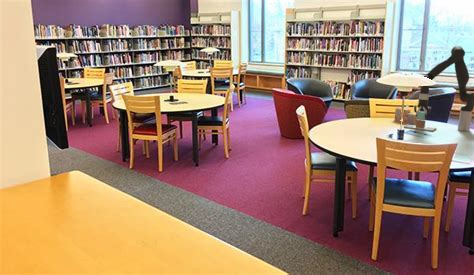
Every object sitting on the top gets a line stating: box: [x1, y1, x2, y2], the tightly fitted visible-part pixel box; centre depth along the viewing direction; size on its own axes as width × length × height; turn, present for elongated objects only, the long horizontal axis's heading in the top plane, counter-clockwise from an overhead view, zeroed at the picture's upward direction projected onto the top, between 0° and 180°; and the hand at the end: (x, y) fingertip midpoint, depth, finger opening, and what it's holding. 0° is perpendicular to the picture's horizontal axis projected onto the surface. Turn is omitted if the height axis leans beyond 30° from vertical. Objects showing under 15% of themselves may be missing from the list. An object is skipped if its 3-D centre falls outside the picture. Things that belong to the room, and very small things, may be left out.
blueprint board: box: [403, 123, 437, 133], centre depth 362 cm, size 12×24×2 cm, turn 52°
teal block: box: [417, 110, 427, 121], centre depth 359 cm, size 6×6×6 cm
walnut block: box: [415, 119, 426, 128], centre depth 361 cm, size 6×6×6 cm
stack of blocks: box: [394, 107, 419, 125], centre depth 389 cm, size 21×6×12 cm, turn 28°
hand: (421, 117), depth 360 cm, fingers closed on teal block, 6 cm apart
